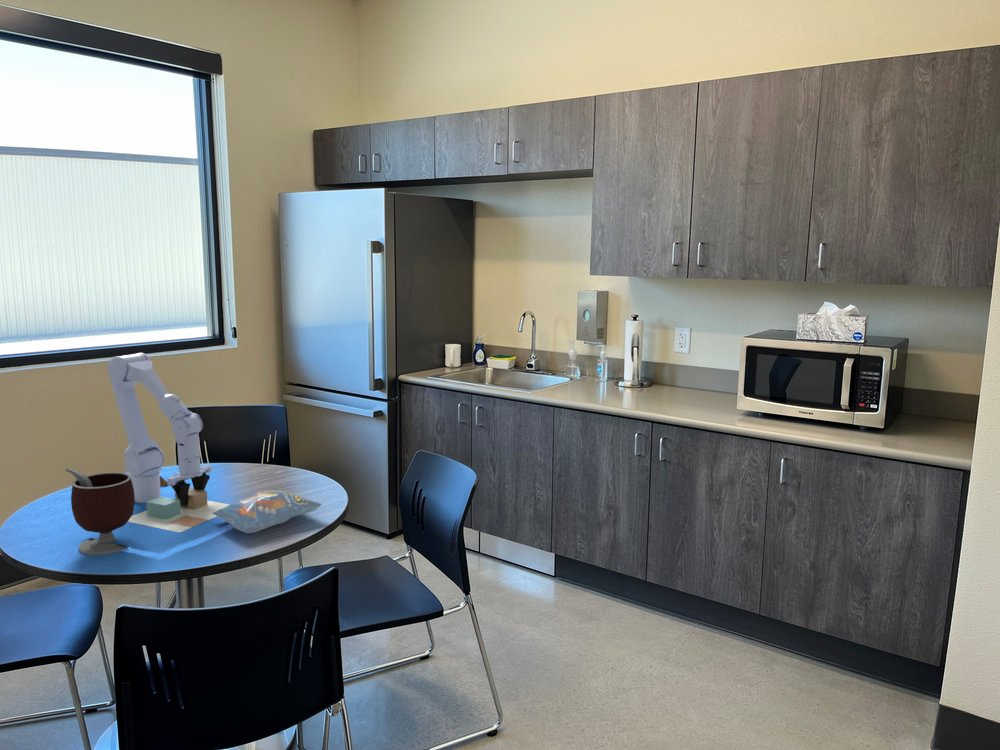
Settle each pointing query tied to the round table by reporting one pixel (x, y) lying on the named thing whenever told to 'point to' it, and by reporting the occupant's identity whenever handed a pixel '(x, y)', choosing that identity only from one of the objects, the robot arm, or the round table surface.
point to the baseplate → (180, 517)
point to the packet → (265, 510)
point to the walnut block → (195, 499)
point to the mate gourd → (102, 508)
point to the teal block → (163, 507)
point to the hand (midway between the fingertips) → (191, 502)
